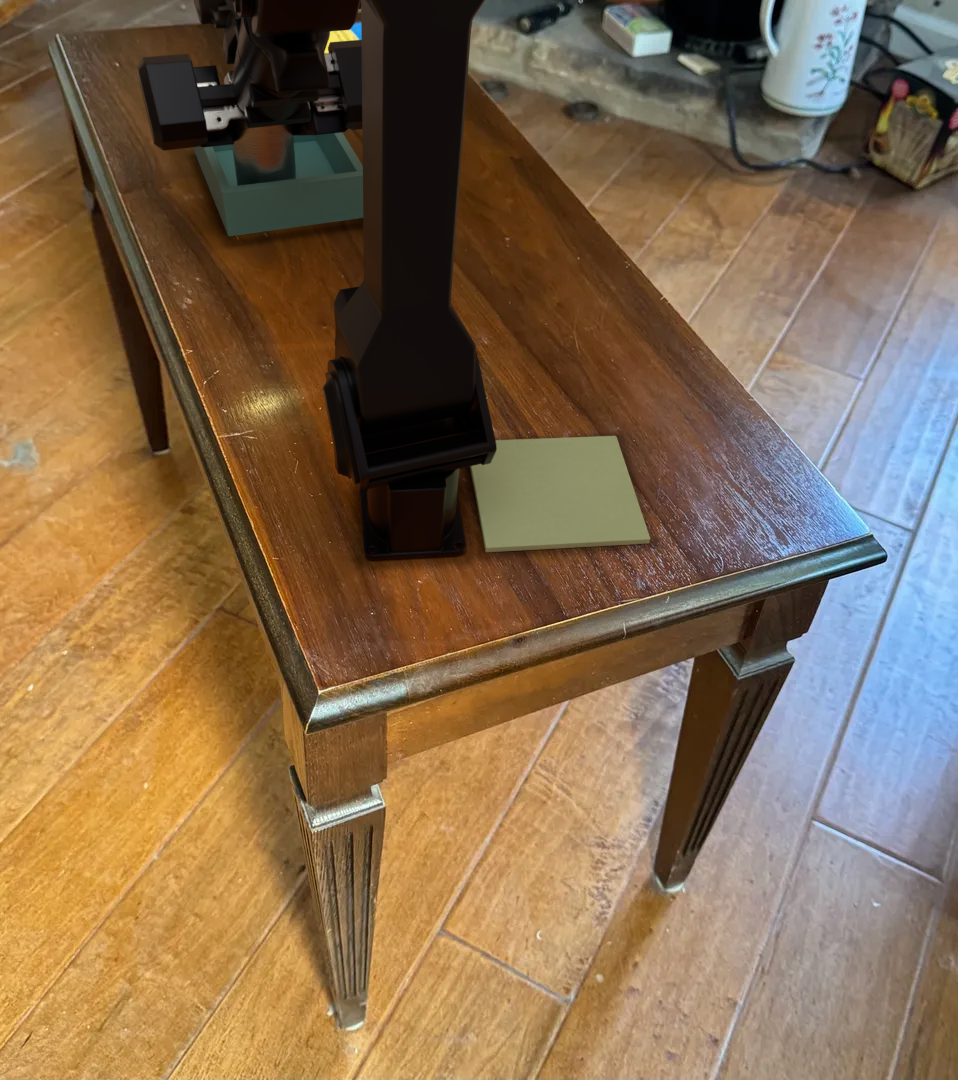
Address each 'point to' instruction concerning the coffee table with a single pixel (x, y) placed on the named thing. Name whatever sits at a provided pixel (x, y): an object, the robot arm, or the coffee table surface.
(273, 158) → the bottle
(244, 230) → the teal open box
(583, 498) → the placemat
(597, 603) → the coffee table surface
